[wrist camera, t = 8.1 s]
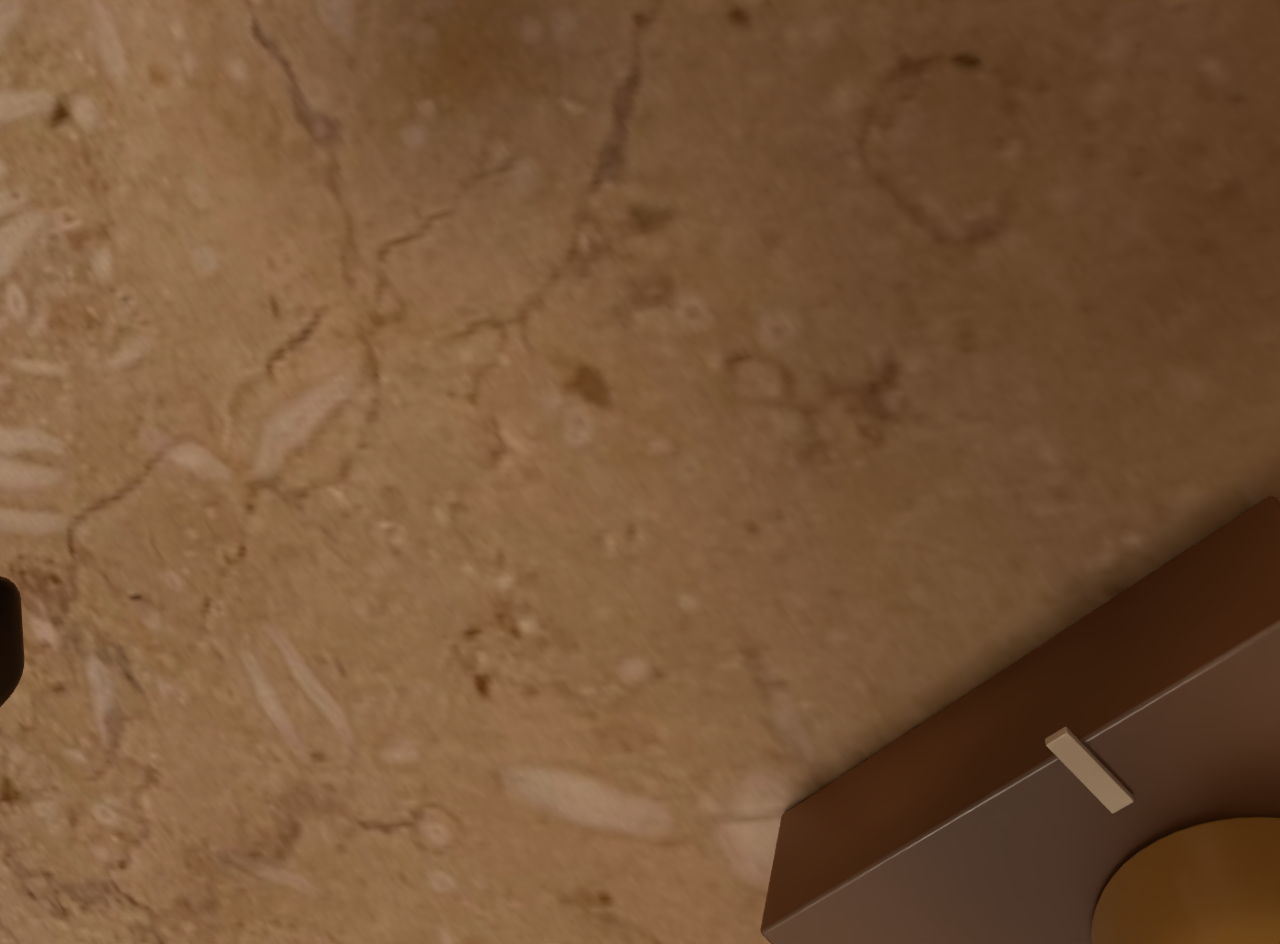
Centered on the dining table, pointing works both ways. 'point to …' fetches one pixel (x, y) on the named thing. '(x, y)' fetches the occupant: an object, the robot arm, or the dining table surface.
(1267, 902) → the knob
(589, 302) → the dining table surface
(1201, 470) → the dining table surface
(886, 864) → the panel
